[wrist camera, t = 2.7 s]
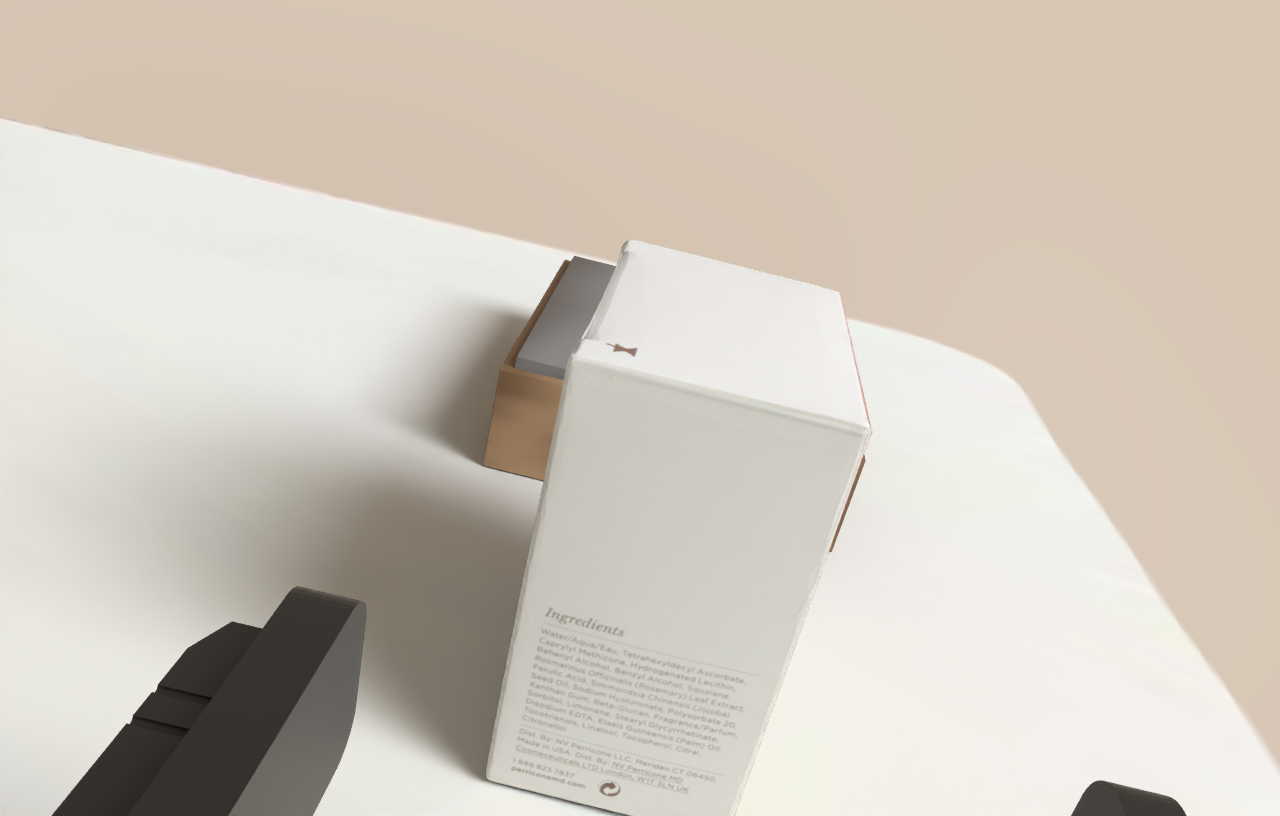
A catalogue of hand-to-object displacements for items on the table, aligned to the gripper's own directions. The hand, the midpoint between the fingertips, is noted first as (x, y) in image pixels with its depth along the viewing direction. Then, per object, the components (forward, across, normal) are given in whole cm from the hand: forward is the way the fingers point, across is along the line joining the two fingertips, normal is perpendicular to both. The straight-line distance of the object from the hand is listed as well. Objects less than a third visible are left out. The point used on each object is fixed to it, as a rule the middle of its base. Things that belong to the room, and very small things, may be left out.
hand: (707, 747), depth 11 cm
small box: (+12, 0, +10) cm, 15 cm away
